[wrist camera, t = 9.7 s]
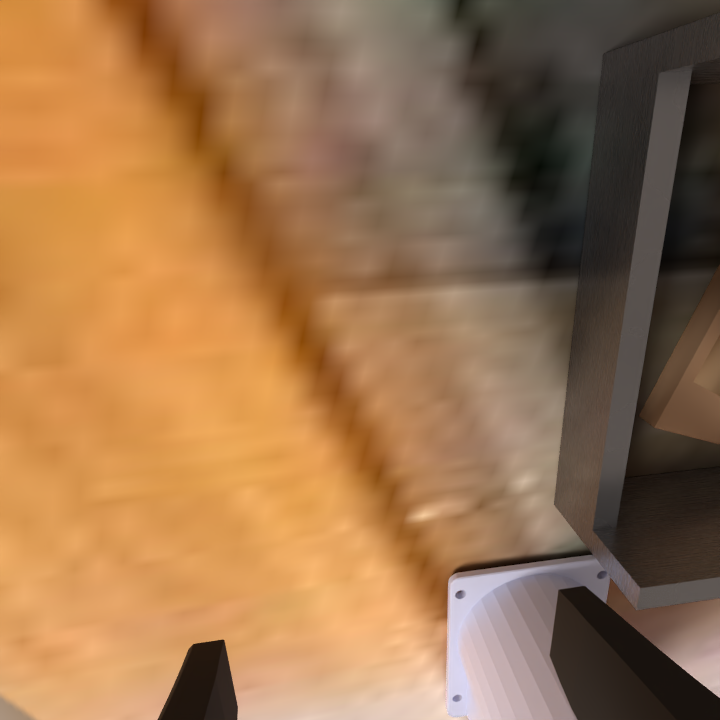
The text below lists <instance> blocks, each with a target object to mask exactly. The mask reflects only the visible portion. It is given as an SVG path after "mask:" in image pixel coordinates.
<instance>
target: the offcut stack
mask: <svg viewBox="0 0 720 720" xmlns="http://www.w3.org/2000/svg"><path fill="white" fill-rule="evenodd" d="M639 417H640V418H642V419H643V420H645V421H646V422H647V423H649V424H650V425H651V426H653V427H654V428H658V429H661V430H665V431H669V432H673V433H677V434H681V435H685V436H689V437H693V438H697V439H700V440H704V441H708V442H712V443H716V444H720V265H719V266H718V268H717V270H716V272H715V274H714V276H713V278H712V280H711V281H710V283H709V285H708V287H707V289H706V291H705V293H704V295H703V296H702V298H701V300H700V302H699V304H698V306H697V308H696V310H695V311H694V313H693V315H692V317H691V319H690V321H689V323H688V325H687V326H686V328H685V330H684V332H683V334H682V336H681V338H680V340H679V341H678V343H677V345H676V347H675V349H674V351H673V353H672V354H671V356H670V358H669V360H668V362H667V364H666V366H665V368H664V369H663V371H662V373H661V375H660V377H659V379H658V381H657V383H656V384H655V386H654V388H653V390H652V392H651V394H650V396H649V398H648V399H647V401H646V403H645V405H644V407H643V409H642V411H641V413H640V414H639Z"/></svg>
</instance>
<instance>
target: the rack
mask: <svg viewBox="0 0 720 720" xmlns="http://www.w3.org/2000/svg"><path fill="white" fill-rule="evenodd" d="M715 83H720V13H717V14H714V15H711V16H709V17H706V18H703V19H700V20H697V21H695V22H692V23H689V24H686V25H683V26H681V27H678V28H675V29H672V30H669V31H666V32H664V33H661V34H658V35H655V36H652V37H650V38H647V39H644V40H641V41H638V42H636V43H633V44H630V45H627V46H624V47H621V48H619V49H616V50H613V51H610V52H607V53H605V54H604V55H603V64H602V73H601V82H600V91H599V100H598V110H597V119H596V128H595V137H594V146H593V155H592V164H591V173H590V182H589V192H588V201H587V210H586V219H585V228H584V237H583V246H582V255H581V264H580V274H579V283H578V292H577V301H576V310H575V319H574V328H573V337H572V346H571V356H570V365H569V374H568V383H567V392H566V401H565V410H564V419H563V428H562V437H561V447H560V456H559V465H558V474H557V483H556V492H555V501H554V505H555V506H556V508H557V509H558V510H559V511H560V513H561V514H562V515H563V517H564V518H565V519H566V521H567V522H568V523H569V524H570V526H571V527H572V528H573V530H574V531H575V532H576V533H577V535H578V536H579V537H580V539H581V540H582V541H583V542H584V544H585V545H586V546H587V548H588V549H589V550H590V552H591V553H592V554H593V555H594V557H595V558H596V559H597V561H598V562H599V563H600V564H601V566H602V567H603V568H604V570H605V571H606V572H607V573H608V575H609V576H610V577H611V579H612V580H613V581H614V582H615V584H616V585H617V586H618V588H619V589H620V590H621V592H622V593H623V594H624V595H625V597H626V598H627V599H628V601H629V602H630V603H631V604H632V606H633V607H634V608H635V610H642V609H649V608H656V607H662V606H669V605H676V604H683V603H690V602H697V601H703V600H710V599H717V598H720V467H713V468H705V469H697V470H688V471H680V472H671V473H663V474H655V475H646V476H638V477H629V478H624V477H625V471H626V465H627V459H628V453H629V447H630V441H631V435H632V429H633V423H634V417H635V411H636V405H637V399H638V393H639V387H640V381H641V375H642V369H643V363H644V357H645V351H646V345H647V339H648V333H649V327H650V321H651V315H652V309H653V303H654V297H655V291H656V285H657V279H658V273H659V267H660V261H661V255H662V249H663V243H664V237H665V231H666V225H667V219H668V213H669V207H670V201H671V195H672V189H673V183H674V176H675V170H676V164H677V158H678V152H679V146H680V140H681V134H682V128H683V122H684V116H685V110H686V104H687V98H688V92H689V86H690V84H715Z"/></svg>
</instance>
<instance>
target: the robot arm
mask: <svg viewBox="0 0 720 720" xmlns="http://www.w3.org/2000/svg"><path fill="white" fill-rule="evenodd" d="M610 578H611V577H610V576H609V575H608V573H607V572H606V571H605V570H604V568H603V567H602V566H601V564H600V563H599V562H598V561H597V559H596V558H595V557H594V555H585V556H578V557H570V558H563V559H555V560H548V561H541V562H533V563H526V564H518V565H511V566H503V567H496V568H488V569H481V570H473V571H466V572H458V573H455V574H453V575H452V576H451V577H450V578H449V581H448V620H447V669H446V709H447V713H448V715H449V716H451V717H461V716H468V719H469V720H720V698H719V697H718V696H716V695H715V694H714V693H712V692H711V691H710V690H709V689H707V688H706V687H705V686H703V685H702V684H701V683H700V682H698V681H697V680H696V679H695V678H693V677H692V676H691V675H690V674H688V673H687V672H686V671H685V670H684V669H682V668H681V667H680V666H679V665H677V664H676V663H675V662H674V661H673V660H671V659H670V658H669V657H668V656H666V655H665V654H664V653H663V652H662V651H660V650H659V649H658V648H657V647H656V646H654V645H653V644H652V643H651V642H650V641H649V640H647V639H646V638H645V637H644V636H643V635H641V634H640V633H639V632H638V631H637V630H636V629H634V628H633V627H632V626H631V625H630V624H629V623H627V622H626V621H625V620H624V619H623V618H622V617H621V616H619V615H618V614H617V613H616V612H615V611H614V610H612V609H611V608H610V607H609V606H608V605H607V604H606V601H607V595H608V589H609V583H610ZM460 590H462V591H461V592H458V591H460ZM237 712H238V706H237V701H236V696H235V691H234V686H233V681H232V676H231V671H230V666H229V661H228V656H227V651H226V646H225V641H224V640H218V641H211V642H204V643H197V644H193V645H192V646H191V647H190V648H189V650H188V652H187V655H186V657H185V660H184V662H183V665H182V667H181V670H180V672H179V674H178V677H177V679H176V681H175V683H174V686H173V688H172V690H171V692H170V695H169V697H168V699H167V701H166V703H165V705H164V707H163V709H162V712H161V714H160V716H159V718H158V720H237Z"/></svg>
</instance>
